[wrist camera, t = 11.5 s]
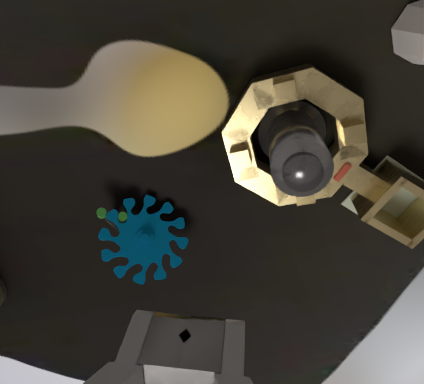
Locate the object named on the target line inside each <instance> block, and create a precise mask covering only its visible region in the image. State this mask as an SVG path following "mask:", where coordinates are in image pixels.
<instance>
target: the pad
mask: <svg viewBox="0 0 424 384" xmlns="http://www.w3.org/2000/svg"><path fill="white" fill-rule="evenodd" d="M386 159H388V160H390V161H391V162H393V163H394V164H396V165H398V166H399V167H401V168H403V169H404V170H406V171H408V172H409V173H411V174H413V175H414V176H416V177H417V178H419V179H421V180H422V181H424V180H423V179H422V178H420V177H419V176H417V175H416V174H414V173H413V172H411V171H410V170H408V169H407V168H406V167H404V166H403V165H401V164H400V163H398V162H397V161H395V160H394V159H392V158H391V157H389V156H388V155H387V156H386V157H385V158H384V159H383V160H382V161H381V162H380V163H379V164H378V165H377V166H376V167H375V168H374V169H373V170H375V171H376V170H377V169H378V168H379V166H380V165H381V164H382V163H383V162H384V161H385V160H386ZM355 193H356V192H355V191H352V192H351V193H350V194H349V195H348V196H347V197H346V198H345V199H344V200H343V201H342V202H341V204H342V205H343V206H345V207H347V208H348V209H350V210H351V211H353V212H354V213H356V214H358V213H357V211H356V209H355V207H354V205H353V203H352V201H351V198H352V197H353V195H354V194H355ZM417 198H418V196H416V195H414V194H413V193H411V192H409V191H408V190H406V189H404V188H403V187H401V188H400V189H399V190H398V192H397V193H396V194H395V195H394V196H393V197H392V198H391V199H390V200H389V201H388V202H387V203H386V204H385V205H384V206H383V207H382V208H381V209H383V210H385V211H387V212H388V213H390V214H392V215H393V216H395V217H397V218H398V217H399V216H400V215H401V214H402V213H403V212H404V211H405V210H406V209H407V208H408V207H409V206H410V205H411V204H412V203H413V202H414V201H415V200H416V199H417Z"/></svg>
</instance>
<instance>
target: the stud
mask: <svg viewBox="0 0 424 384" xmlns="http://www.w3.org/2000/svg"><path fill="white" fill-rule="evenodd" d="M325 137H326V124H325V121H324V119H323V117H322V115H321V113H320V112H319V111H318V110H317V109H316V108H315V107H314V106H312V105H311V104H309V103H306V102H303V101H294V102H290V103H286V104H282V105H278V106H274V107H272V108H271V109H270V110H269V111H268V112H267V113H266V114H265V115H264V117H263V119H262V121H261V123H260V126H259V131H258V138H259V143H260V146H261V148H262V150H263V152H264V153H265V154H266V155H267V156H268V157H269V160H270V170H271V177H272V180H273V182H274V184H275V185H276V187H277V188H278V189H279V190H280V191H282V192H283V193H285V194H287V195H290V196H294V197H306V196H310V195H313V194H316V193H318V192H319V191H321V190H322V189H323V188H324V187H325V186H326V185H327V184H328V183H329V182H330V180H331V178H332V176H333V172H334V162H333V159H332V156H331V154H330V152H329V150H328V148H327V146H326V144H325V142H324V141H325Z"/></svg>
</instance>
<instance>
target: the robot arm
mask: <svg viewBox="0 0 424 384" xmlns="http://www.w3.org/2000/svg"><path fill="white" fill-rule="evenodd" d="M244 342H245V322H244V321H241V320H230V319H226V322H225V319H222V318H210V317H199V316H184V315H176V314H168V313H160V312H150V311H142V310H136V311H135V313H134V314H133V316H132V319H131V321H130V324H129V326H128V329H127V332H126V334H125V337H124V339H123V342H122V345H121V347H120V350H119V352H118V355H117V358H116V360H115V362H108V363H107V364H106V365H105V366H103V367H102V368H101V369H100V370H99V371H97V372H96V373H95V374H94V375H93V376H91V377H90V378H89V379H88V380H87V381H85V382H84V383H83V384H253V382H252V381H251V379H250V378H249V377H244Z"/></svg>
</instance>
